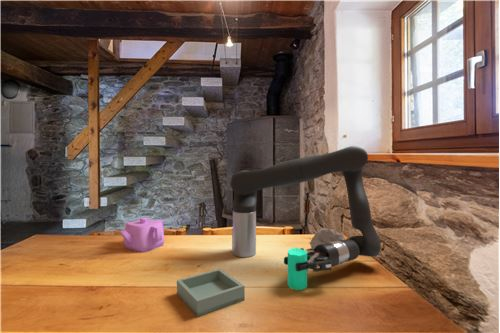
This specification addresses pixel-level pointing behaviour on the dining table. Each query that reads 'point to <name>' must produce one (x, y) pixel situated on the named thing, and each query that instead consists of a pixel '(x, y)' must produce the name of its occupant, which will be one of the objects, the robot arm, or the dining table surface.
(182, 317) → the dining table surface
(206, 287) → the tray
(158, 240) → the teakettle
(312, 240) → the pumice stone
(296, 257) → the candle
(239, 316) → the dining table surface
